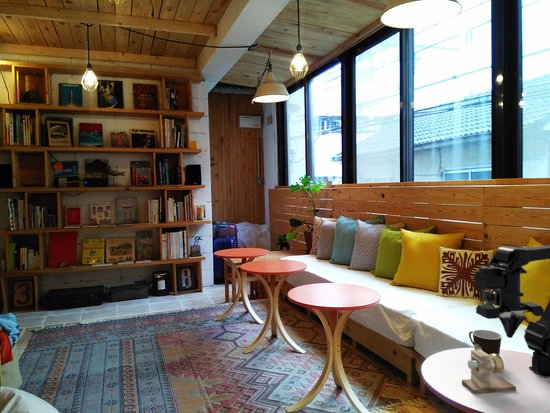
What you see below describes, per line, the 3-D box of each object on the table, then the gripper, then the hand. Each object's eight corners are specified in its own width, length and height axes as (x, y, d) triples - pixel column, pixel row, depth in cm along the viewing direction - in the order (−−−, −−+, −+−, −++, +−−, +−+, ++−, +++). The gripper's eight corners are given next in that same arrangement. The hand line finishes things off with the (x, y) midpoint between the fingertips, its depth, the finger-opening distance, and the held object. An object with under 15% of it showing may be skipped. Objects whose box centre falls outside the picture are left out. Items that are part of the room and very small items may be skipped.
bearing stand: (502, 380, 117) (501, 347, 117) (516, 390, 111) (516, 355, 111) (461, 383, 116) (461, 349, 116) (474, 394, 110) (473, 358, 110)
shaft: (492, 367, 116) (492, 350, 116) (504, 375, 111) (504, 358, 111) (464, 369, 115) (464, 352, 115) (475, 377, 110) (475, 360, 110)
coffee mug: (505, 370, 124) (505, 339, 124) (477, 368, 126) (477, 338, 125) (493, 355, 135) (493, 327, 135) (466, 353, 137) (466, 326, 137)
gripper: (518, 280, 128) (518, 326, 128) (465, 283, 126) (465, 329, 126) (545, 288, 116) (545, 339, 117) (487, 291, 115) (487, 343, 115)
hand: (509, 337), depth 119 cm, fingers closed
